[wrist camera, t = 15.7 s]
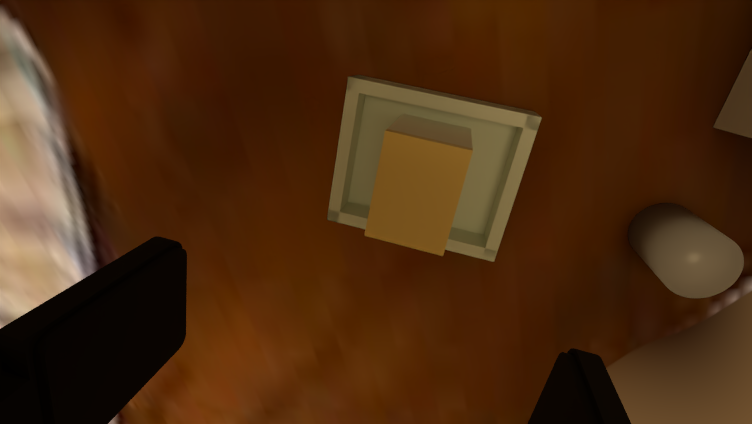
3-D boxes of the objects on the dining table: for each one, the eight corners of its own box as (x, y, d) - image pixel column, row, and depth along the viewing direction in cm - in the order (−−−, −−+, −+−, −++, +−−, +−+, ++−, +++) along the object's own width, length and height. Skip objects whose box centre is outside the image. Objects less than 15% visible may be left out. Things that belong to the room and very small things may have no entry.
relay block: (385, 197, 30) (364, 235, 23) (403, 113, 28) (385, 130, 21) (447, 212, 29) (443, 256, 23) (470, 128, 27) (472, 150, 21)
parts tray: (338, 206, 32) (326, 219, 29) (359, 74, 28) (348, 76, 25) (491, 244, 30) (493, 261, 28) (534, 111, 27) (541, 117, 24)
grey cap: (618, 250, 29) (647, 287, 24) (642, 196, 27) (679, 225, 22) (679, 265, 28) (721, 306, 24) (707, 211, 27) (758, 243, 22)
